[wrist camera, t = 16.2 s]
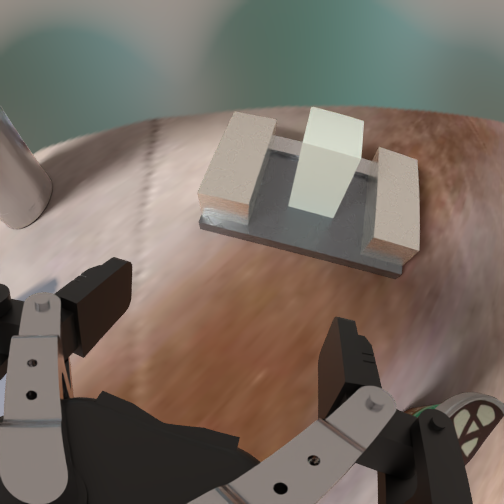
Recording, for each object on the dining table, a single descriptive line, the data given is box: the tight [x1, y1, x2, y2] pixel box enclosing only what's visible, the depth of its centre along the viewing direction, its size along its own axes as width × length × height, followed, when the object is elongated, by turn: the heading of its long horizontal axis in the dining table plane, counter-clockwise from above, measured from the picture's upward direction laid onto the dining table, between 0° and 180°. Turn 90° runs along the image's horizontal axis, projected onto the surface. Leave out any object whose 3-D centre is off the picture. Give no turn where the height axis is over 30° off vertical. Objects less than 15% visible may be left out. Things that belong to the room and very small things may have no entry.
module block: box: [288, 107, 364, 218], centre depth 30 cm, size 5×5×10 cm
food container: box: [404, 392, 504, 465], centre depth 21 cm, size 12×6×10 cm, turn 122°
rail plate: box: [198, 111, 420, 279], centre depth 34 cm, size 22×14×6 cm, turn 75°
